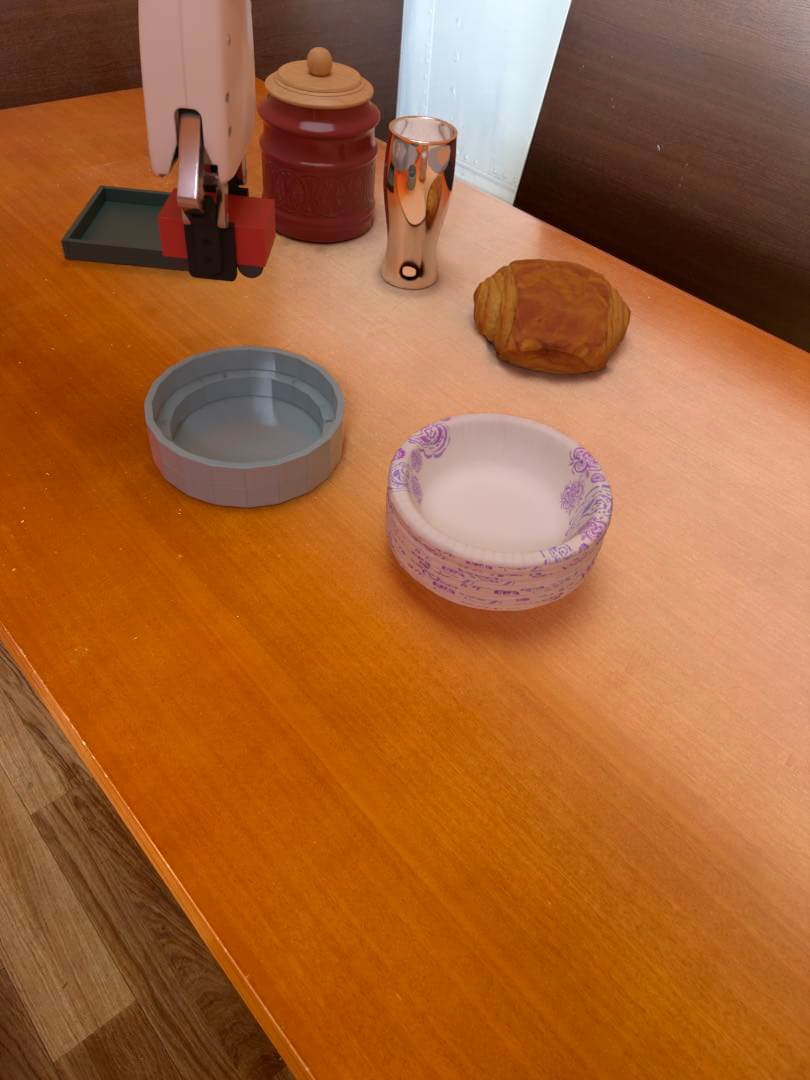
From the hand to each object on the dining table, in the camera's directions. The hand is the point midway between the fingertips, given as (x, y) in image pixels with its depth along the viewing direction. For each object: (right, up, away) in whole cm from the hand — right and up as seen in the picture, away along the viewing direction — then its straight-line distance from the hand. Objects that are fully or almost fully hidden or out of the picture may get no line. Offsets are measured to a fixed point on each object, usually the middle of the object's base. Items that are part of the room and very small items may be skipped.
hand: (221, 256), depth 56 cm
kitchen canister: (+3, +17, +37) cm, 41 cm away
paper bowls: (+19, -22, +3) cm, 29 cm away
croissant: (+27, 0, +23) cm, 36 cm away
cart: (0, 0, 0) cm, 0 cm away
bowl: (0, -12, +9) cm, 15 cm away
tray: (-14, +13, +30) cm, 36 cm away
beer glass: (+13, +8, +30) cm, 34 cm away
